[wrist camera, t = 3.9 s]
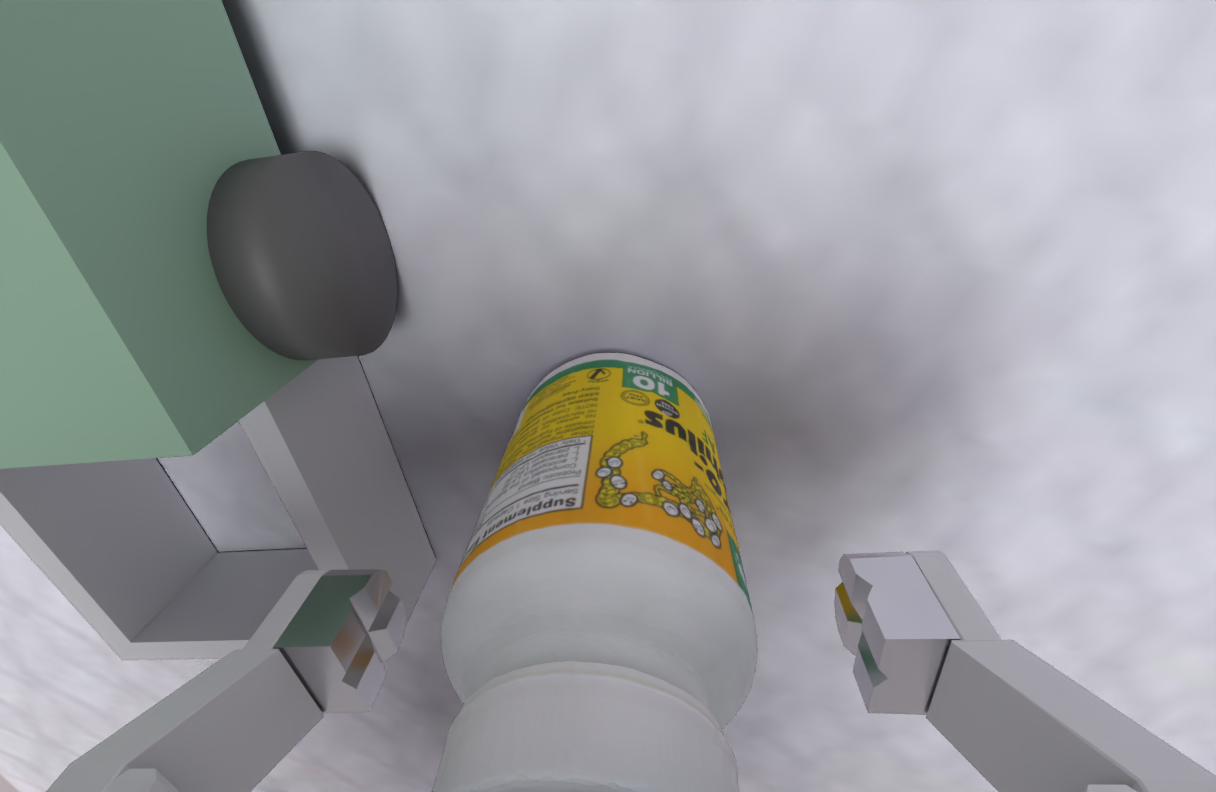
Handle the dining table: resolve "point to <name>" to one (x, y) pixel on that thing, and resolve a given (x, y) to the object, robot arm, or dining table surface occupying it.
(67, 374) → the green toy truck
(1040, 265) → the dining table surface
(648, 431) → the supplement bottle
